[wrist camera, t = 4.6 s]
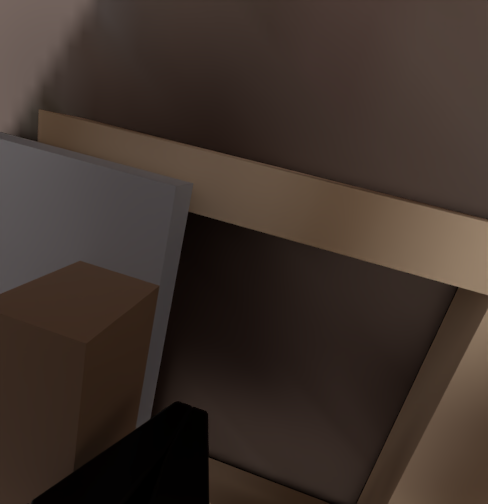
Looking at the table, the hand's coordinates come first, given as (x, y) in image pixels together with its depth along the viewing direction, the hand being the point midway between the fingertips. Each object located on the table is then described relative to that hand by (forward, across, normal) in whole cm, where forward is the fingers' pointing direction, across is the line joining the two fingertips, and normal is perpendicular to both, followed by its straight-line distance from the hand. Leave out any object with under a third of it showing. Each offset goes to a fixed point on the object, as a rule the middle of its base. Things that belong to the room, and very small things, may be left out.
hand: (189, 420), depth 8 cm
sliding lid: (+1, +6, 0) cm, 7 cm away
